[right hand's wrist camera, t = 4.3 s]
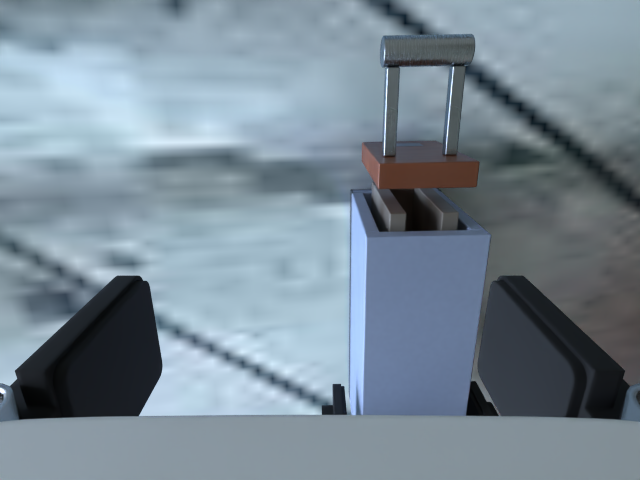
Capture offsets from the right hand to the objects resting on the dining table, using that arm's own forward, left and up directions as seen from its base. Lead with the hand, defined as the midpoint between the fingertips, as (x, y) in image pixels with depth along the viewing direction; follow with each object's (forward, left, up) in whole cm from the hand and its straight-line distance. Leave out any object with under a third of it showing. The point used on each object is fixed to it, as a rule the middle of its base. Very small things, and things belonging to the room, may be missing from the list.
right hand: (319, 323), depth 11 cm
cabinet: (+9, +5, -17) cm, 20 cm away
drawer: (+3, +5, -16) cm, 17 cm away
